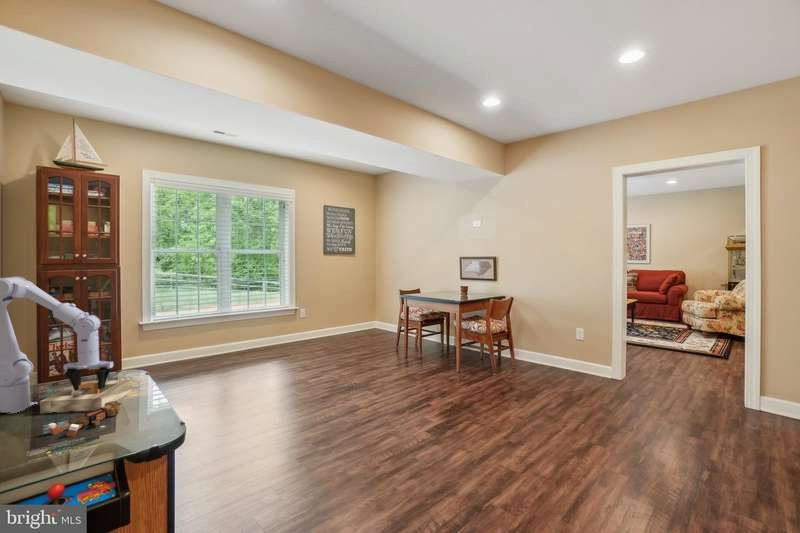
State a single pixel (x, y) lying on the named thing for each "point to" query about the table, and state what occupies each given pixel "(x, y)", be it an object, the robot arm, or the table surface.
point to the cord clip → (90, 385)
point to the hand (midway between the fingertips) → (89, 389)
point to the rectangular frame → (85, 397)
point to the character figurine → (88, 419)
